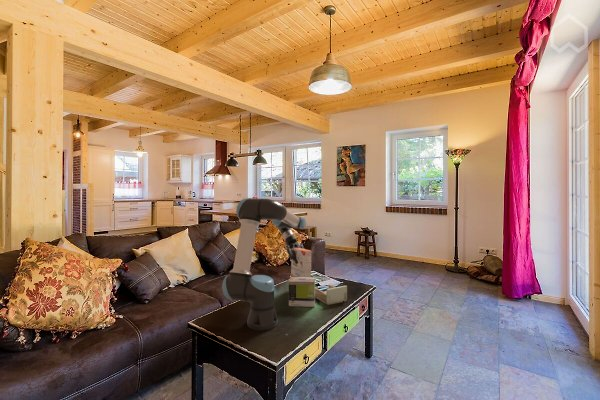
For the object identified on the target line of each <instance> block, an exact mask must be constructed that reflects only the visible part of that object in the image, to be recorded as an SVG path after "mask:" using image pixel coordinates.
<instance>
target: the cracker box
mask: <svg viewBox="0 0 600 400" xmlns="http://www.w3.org/2000/svg"><path fill="white" fill-rule="evenodd" d="M292 250H294V252H295V254H296V258H298V260H299V262H300V263H301V265H302V267H301V268H300V269H299V268H298V266H297V264H296V263H295V261H293V259H292V260H291V259H290V260H291V264H290V267H291V268H290V272H291V273H290V277H312V253H313V252H312V250H310V249H306V248H304V249H302V248H294V249H293V248H292Z"/></svg>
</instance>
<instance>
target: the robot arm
mask: <svg viewBox="0 0 600 400" xmlns="http://www.w3.org/2000/svg"><path fill="white" fill-rule="evenodd" d="M235 212H236V217H237V218H238V221H239V223H240V227H239V228H240V229H239V234H238V235H239V236H238V240H237V245H236V249H235V250H236V251H235V257H234V262H233V268H232V269H231V270H230V271H229V273H228V274H227V275H226V276H225V277H224V278H223V281H222V284H221V288H222V294H223V296H224V297H225V298H226V299H228V300H232V301H241V302H246V303H247V302H248V303H250V311H249V313H248V316H247V321H246V326H247V327H248V328H249V329H251V330H253V331H259V332H260V331H268V330H271V329H274V328H275V327H277V325H278V321H279V320H278V316H277V311H276V310H275V281H274V279H273V278H272V277H270V276H269V275H265V274H255V275H253V274H252V272H251V266H252V265H251V264H252V260H253V259H252V258H253V252H254V247H255V246H254V245H255V240H256V234H257V228H258V226H260V225H261V222H262V221H271V222H272V225H274V227H276V228H277V230H279V232H280V235H281V236H282V238H283V240H284V242H285V244H286V246H285V247H284V249H285V250H286V252H287V255H288V257H289V259H290V260H292V259H293V261H295V263H296V264H297V266H298V268H299V269H300V268H301V267H302V265H301V263H300V262H299V260H298V258H296V254H295V252H294V250H292V248H293V249H294V248H302V249H305V247H304V245H303V243H299V242H298V241H297V238H296V236H295V234H294V232H293V231H292V229H298V230H299V229H301V230H302V229H305V227H306V224H307V221H306V218H305V217H302V216H297V215H296V214H294V213H293V212H291V211H289V210H288V209H287V208H286V206H285V205H284V204H282V203H280V202H279V201H275V200H273V199H270V198H251V197H248V198H243V199H241V200H240V201H239V202H238V204H237V206H236V211H235Z"/></svg>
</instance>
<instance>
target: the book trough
mask: <svg viewBox="0 0 600 400" xmlns="http://www.w3.org/2000/svg"><path fill="white" fill-rule="evenodd" d="M327 287H328V288H327V289H326V290H324V291H323V290H321V289H319V288H317V287H316V286H315V299H317V300H318V301H320V302H322V303H323V304H325V305H327V306H329V305H334V304H335V305H336V304H339V303H344V302H347V301H348V286H347V285H342V286H337V287H336V286H334V285H333V284H330V283H329V284H328V286H327ZM343 301H344V302H343Z"/></svg>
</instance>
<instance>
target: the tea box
mask: <svg viewBox="0 0 600 400" xmlns="http://www.w3.org/2000/svg"><path fill="white" fill-rule="evenodd" d="M315 287H316V278H315V276H311V277H291V276H290V277H289V279H288V306H289V307H307V308H308V307H309V308H315V303H316V298H315Z"/></svg>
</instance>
